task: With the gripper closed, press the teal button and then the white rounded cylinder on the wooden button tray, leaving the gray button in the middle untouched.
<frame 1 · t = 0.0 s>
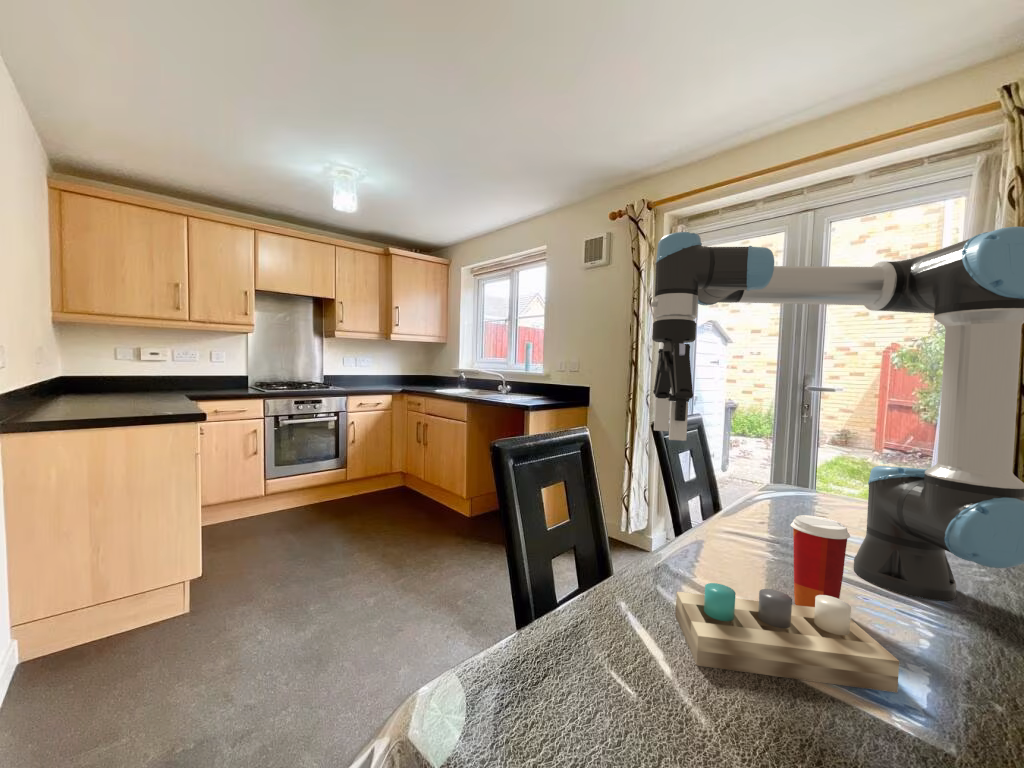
hand: (668, 435, 79), 28 cm above the table, fingers open, 13 cm apart
coffee cup: (814, 609, 73), on the table
gray button: (774, 607, 61), point 6 cm above the table, slide at 0.0 cm
wooden button tray: (772, 649, 61), on the table
teal button: (719, 601, 62), point 6 cm above the table, slide at 0.0 cm
white rounded cylinder: (832, 614, 60), point 6 cm above the table, slide at 0.0 cm
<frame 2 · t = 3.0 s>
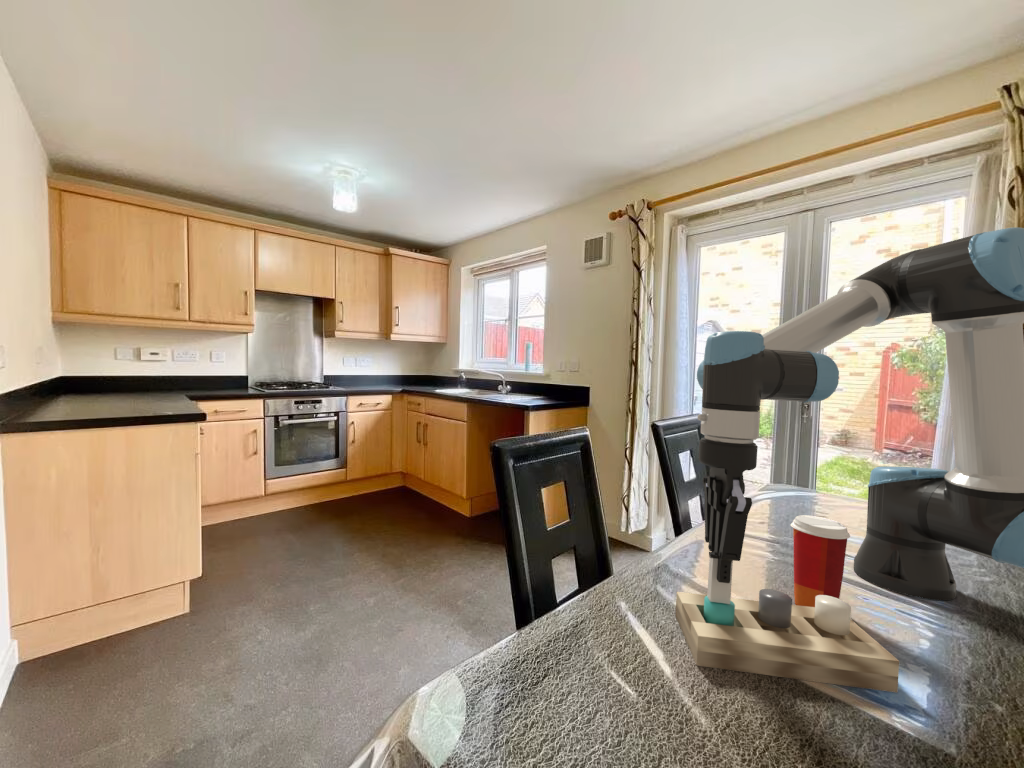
hand: (718, 600, 62), 6 cm above the table, fingers closed
teal button: (718, 613, 62), point 4 cm above the table, slide at 1.8 cm, touching gripper
everything else where it was.
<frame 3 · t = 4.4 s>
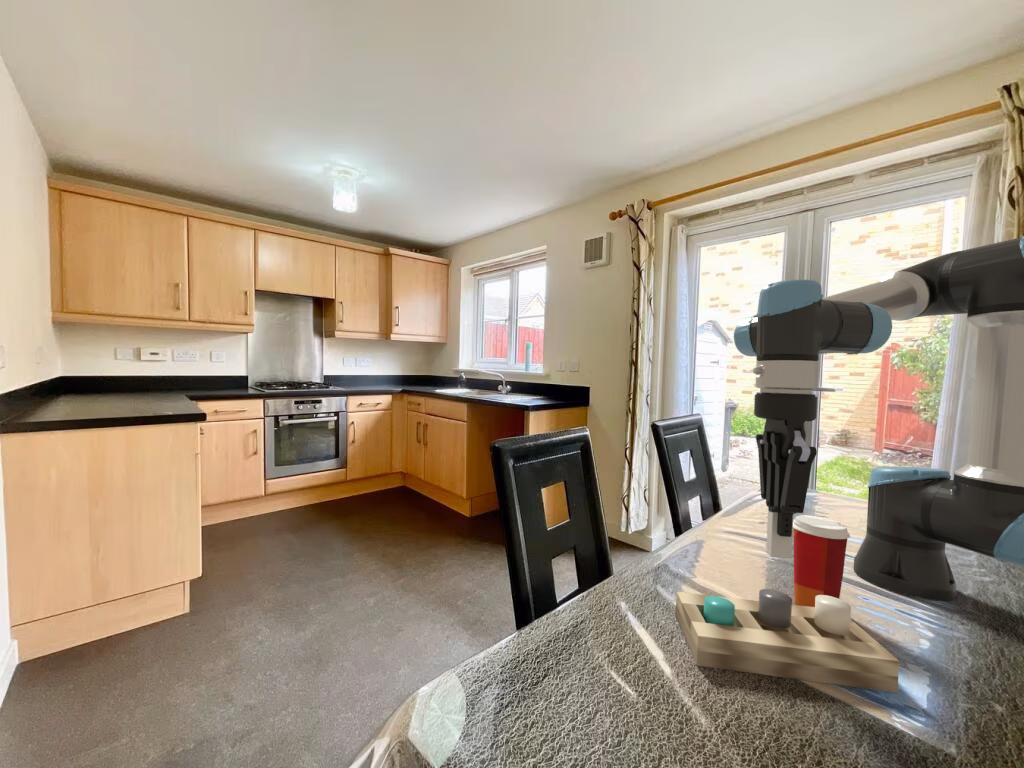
hand: (778, 555, 61), 14 cm above the table, fingers closed
teal button: (718, 614, 62), point 4 cm above the table, slide at 1.9 cm
everything else where it was.
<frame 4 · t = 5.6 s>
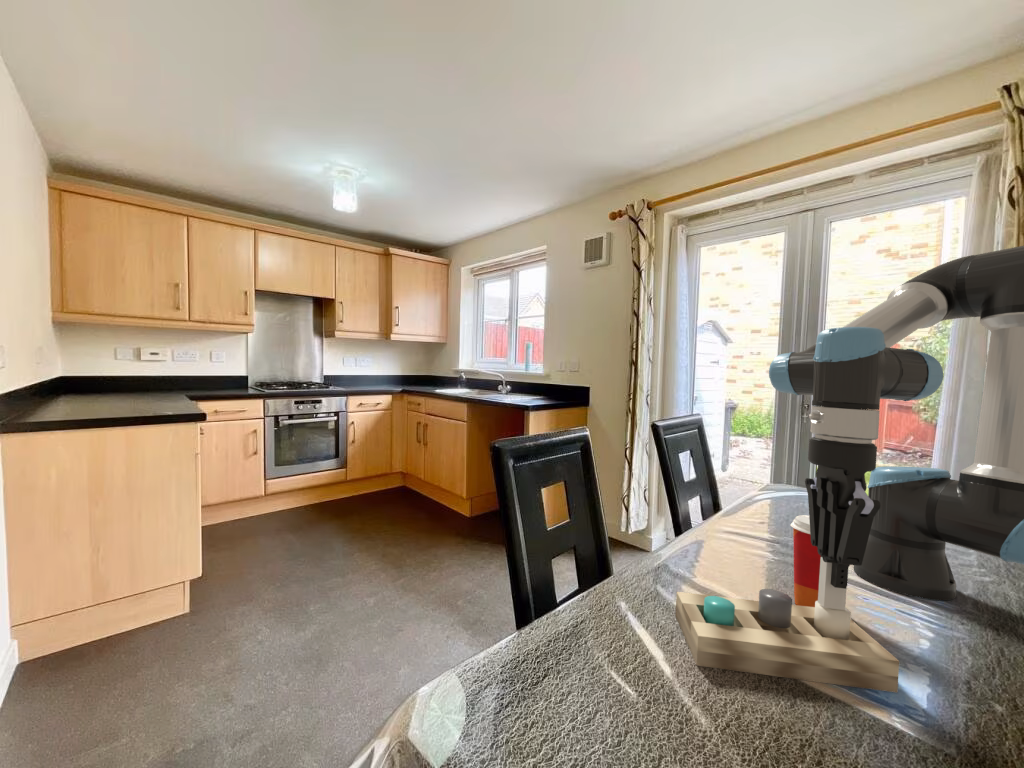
hand: (831, 605, 60), 7 cm above the table, fingers closed
white rounded cylinder: (831, 619, 60), point 5 cm above the table, slide at 0.8 cm, touching gripper
everything else where it was.
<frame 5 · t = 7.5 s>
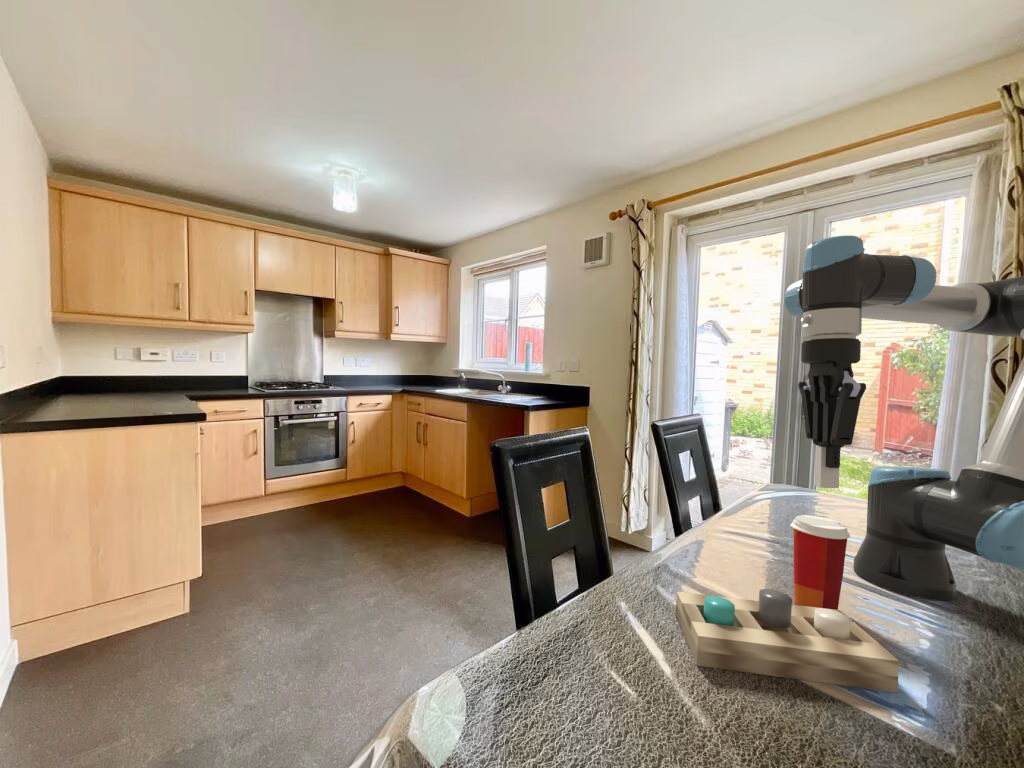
hand: (826, 486, 68), 22 cm above the table, fingers closed
white rounded cylinder: (831, 628, 60), point 4 cm above the table, slide at 1.9 cm
everything else where it was.
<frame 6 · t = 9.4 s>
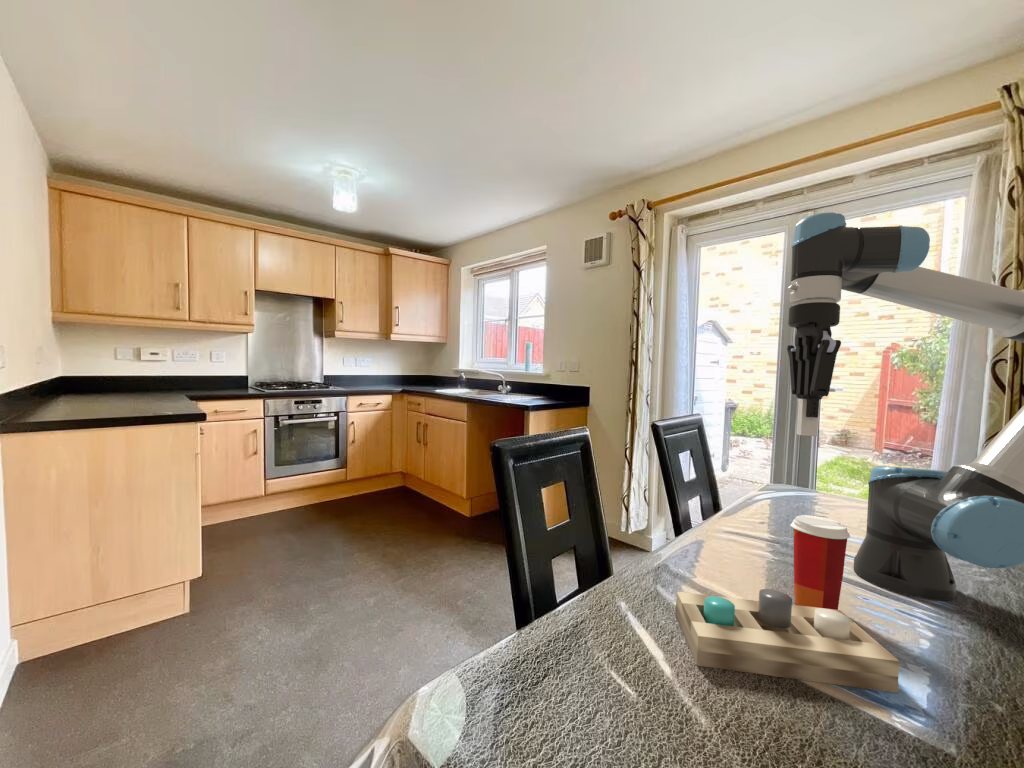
hand: (806, 435, 77), 29 cm above the table, fingers closed
nothing on the table moved.
at the end: teal button slide at 1.9 cm; white rounded cylinder slide at 1.9 cm; gray button slide at 0.0 cm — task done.
